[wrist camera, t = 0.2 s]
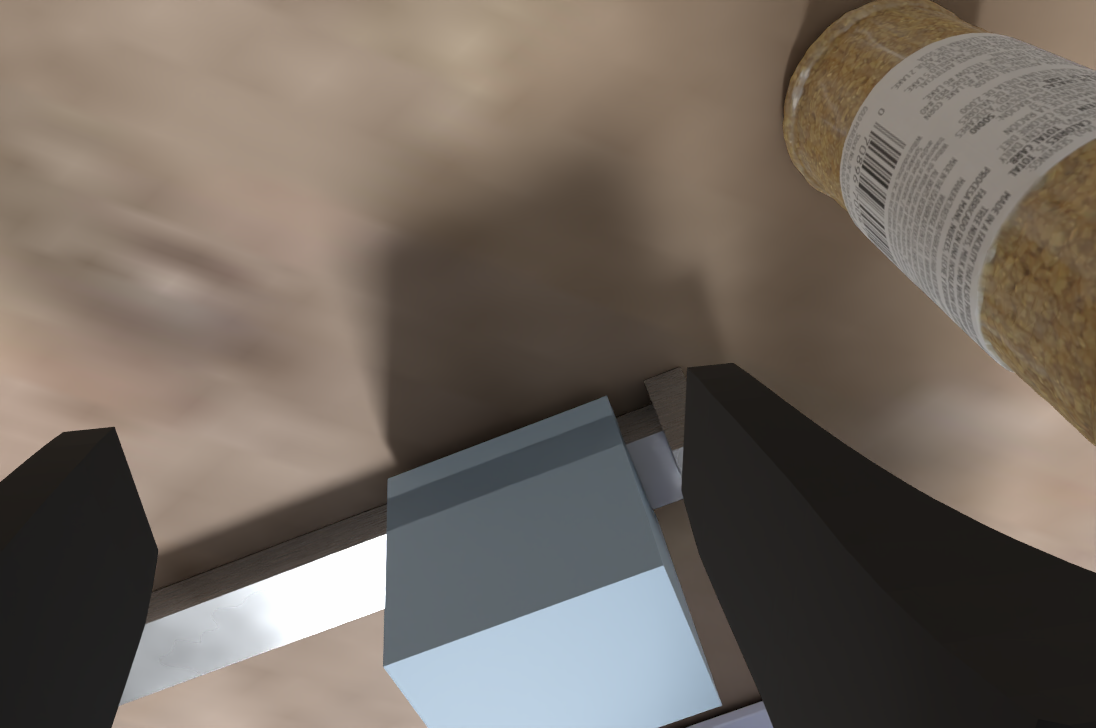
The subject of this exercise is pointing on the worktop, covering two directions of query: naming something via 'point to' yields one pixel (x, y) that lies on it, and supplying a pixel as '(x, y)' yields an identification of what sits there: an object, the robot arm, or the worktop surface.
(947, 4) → the worktop surface
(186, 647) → the rail
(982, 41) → the sprinkles bottle
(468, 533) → the block
